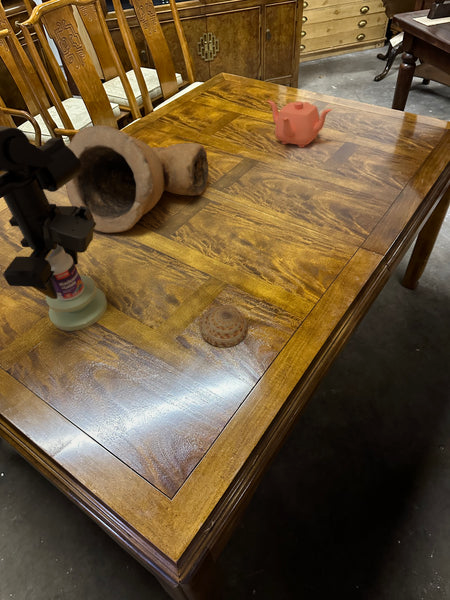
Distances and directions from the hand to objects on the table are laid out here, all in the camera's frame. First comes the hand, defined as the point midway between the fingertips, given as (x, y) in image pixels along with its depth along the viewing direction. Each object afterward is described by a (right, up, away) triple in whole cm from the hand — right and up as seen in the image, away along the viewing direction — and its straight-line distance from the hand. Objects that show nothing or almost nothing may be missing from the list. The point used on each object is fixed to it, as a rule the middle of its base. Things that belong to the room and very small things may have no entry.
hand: (65, 280), depth 76 cm
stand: (+1, -5, +5) cm, 8 cm away
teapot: (+50, +43, +48) cm, 82 cm away
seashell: (+29, -9, -1) cm, 30 cm away
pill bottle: (0, -2, +2) cm, 3 cm away
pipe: (+9, +22, +32) cm, 40 cm away
